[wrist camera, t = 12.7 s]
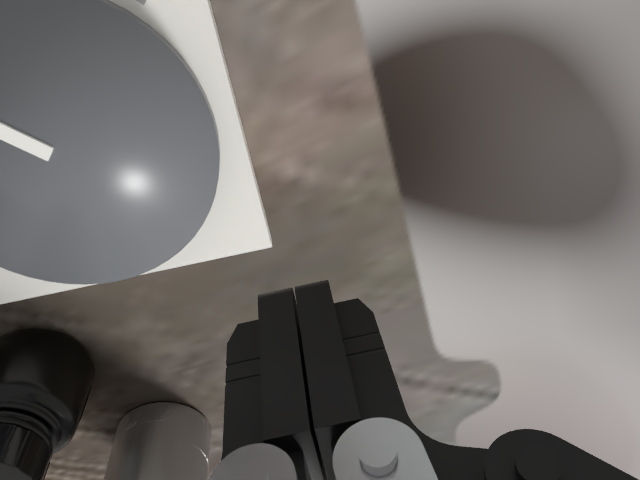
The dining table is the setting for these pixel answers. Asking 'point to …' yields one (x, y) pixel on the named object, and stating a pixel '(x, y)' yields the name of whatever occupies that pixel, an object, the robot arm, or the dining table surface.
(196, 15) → the dial base
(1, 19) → the dial
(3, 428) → the ink bottle
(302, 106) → the dining table surface
